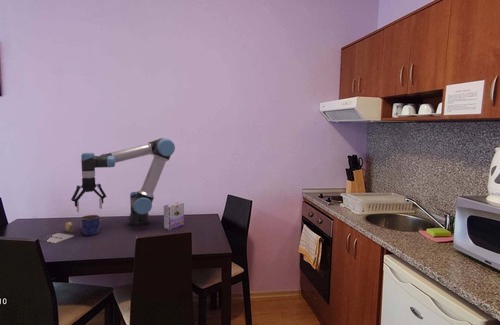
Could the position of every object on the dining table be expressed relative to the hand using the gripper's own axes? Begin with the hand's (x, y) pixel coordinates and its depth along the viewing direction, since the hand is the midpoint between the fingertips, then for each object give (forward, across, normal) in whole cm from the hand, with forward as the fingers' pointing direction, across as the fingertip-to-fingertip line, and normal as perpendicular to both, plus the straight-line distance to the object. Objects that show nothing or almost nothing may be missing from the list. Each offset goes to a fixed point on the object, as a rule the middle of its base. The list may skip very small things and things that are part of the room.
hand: (89, 210), depth 206 cm
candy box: (+16, -49, +20) cm, 55 cm away
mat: (+16, +18, -4) cm, 25 cm away
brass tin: (+16, +9, -14) cm, 23 cm away
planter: (+16, 0, 0) cm, 16 cm away
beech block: (+16, -1, -18) cm, 24 cm away
